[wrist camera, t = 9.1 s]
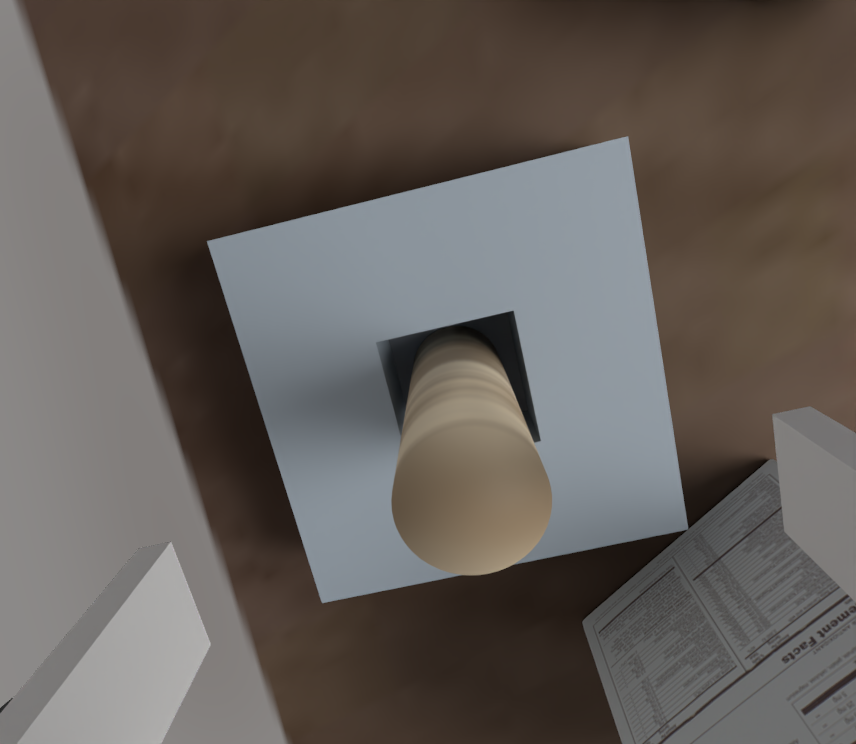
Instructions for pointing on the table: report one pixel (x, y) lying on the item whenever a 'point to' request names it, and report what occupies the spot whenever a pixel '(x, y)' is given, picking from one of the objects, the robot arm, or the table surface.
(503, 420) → the peg
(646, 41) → the table surface
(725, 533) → the supplement box
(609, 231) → the socket block
